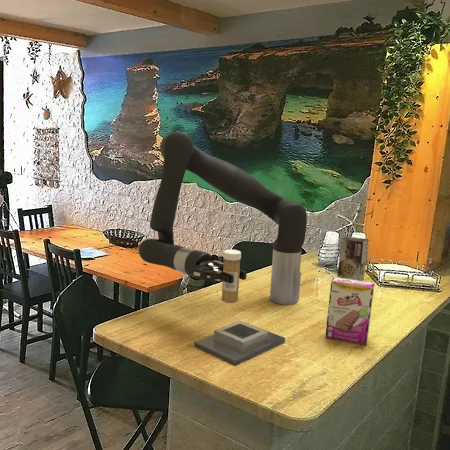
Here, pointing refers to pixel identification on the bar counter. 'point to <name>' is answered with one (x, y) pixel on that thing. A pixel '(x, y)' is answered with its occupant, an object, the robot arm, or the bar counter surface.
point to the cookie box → (352, 258)
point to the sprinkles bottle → (232, 268)
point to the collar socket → (238, 342)
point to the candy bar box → (349, 310)
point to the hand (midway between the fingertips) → (239, 277)
